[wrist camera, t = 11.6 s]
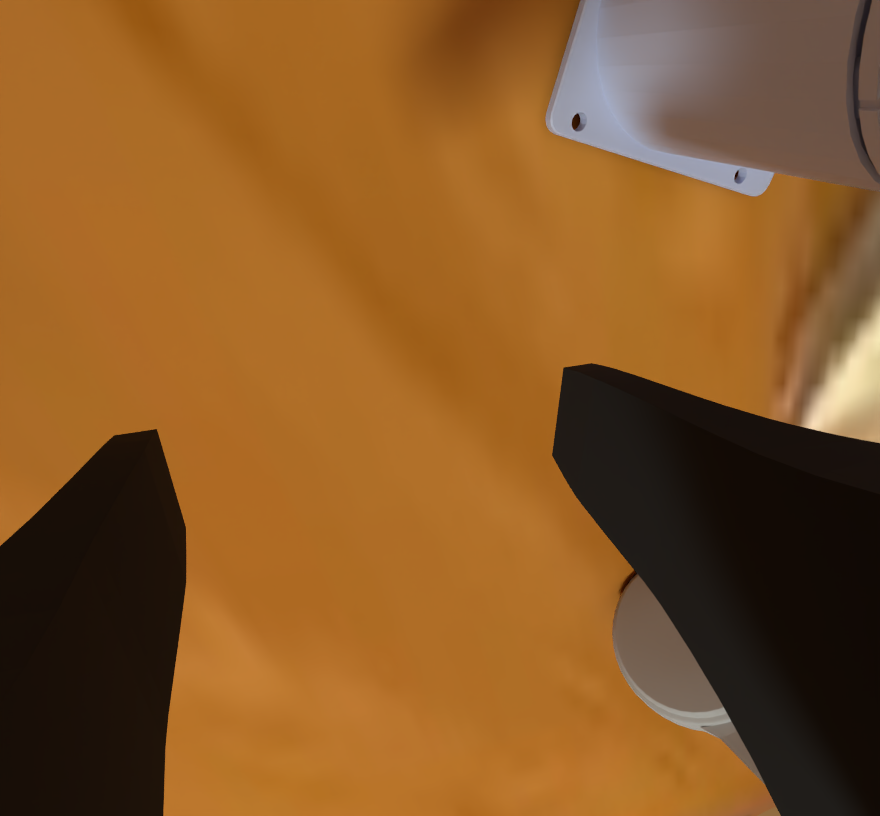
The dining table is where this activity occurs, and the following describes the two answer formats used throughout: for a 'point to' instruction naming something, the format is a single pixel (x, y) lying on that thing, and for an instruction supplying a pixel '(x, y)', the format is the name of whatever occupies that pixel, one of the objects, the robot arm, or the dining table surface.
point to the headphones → (668, 669)
